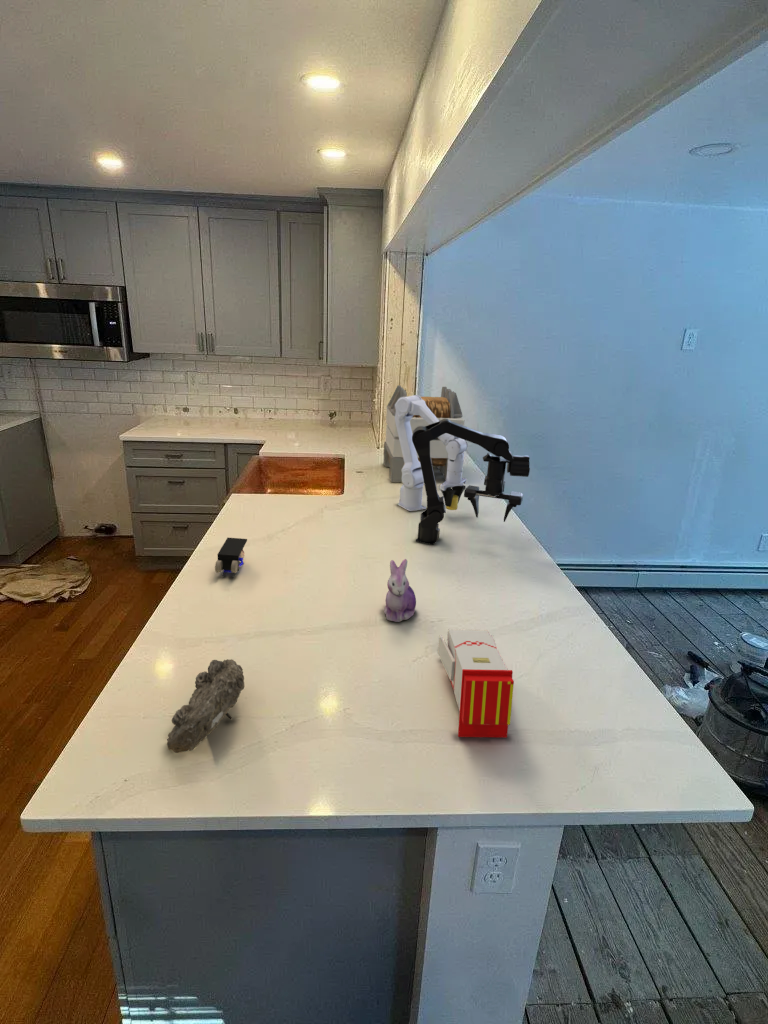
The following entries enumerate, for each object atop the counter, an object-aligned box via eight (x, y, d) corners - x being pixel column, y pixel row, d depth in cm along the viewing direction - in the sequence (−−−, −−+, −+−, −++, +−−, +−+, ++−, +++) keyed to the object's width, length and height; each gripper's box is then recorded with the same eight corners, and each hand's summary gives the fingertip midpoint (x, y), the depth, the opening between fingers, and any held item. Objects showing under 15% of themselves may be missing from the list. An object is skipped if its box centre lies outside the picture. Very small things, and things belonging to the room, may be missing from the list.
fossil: (192, 660, 117) (244, 628, 112) (224, 691, 120) (276, 661, 115) (142, 746, 98) (202, 712, 93) (182, 779, 101) (242, 748, 96)
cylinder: (453, 505, 219) (454, 493, 217) (459, 509, 215) (460, 497, 213) (443, 507, 217) (444, 495, 215) (449, 510, 213) (450, 498, 211)
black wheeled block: (238, 584, 162) (249, 557, 175) (236, 562, 158) (247, 536, 172) (215, 584, 161) (227, 556, 175) (212, 561, 158) (225, 535, 171)
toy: (488, 613, 130) (523, 677, 101) (484, 667, 133) (517, 744, 104) (435, 612, 130) (455, 676, 101) (432, 666, 133) (451, 743, 103)
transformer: (382, 463, 289) (386, 382, 275) (445, 464, 293) (451, 384, 279) (390, 482, 257) (394, 392, 243) (460, 483, 261) (468, 394, 247)
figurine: (392, 627, 141) (395, 572, 136) (374, 608, 149) (376, 556, 144) (425, 619, 145) (429, 566, 140) (405, 601, 154) (408, 550, 149)
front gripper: (527, 472, 190) (521, 516, 195) (472, 465, 196) (468, 507, 201) (523, 481, 180) (517, 526, 185) (465, 473, 186) (461, 517, 191)
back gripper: (452, 476, 203) (448, 511, 208) (474, 469, 213) (471, 503, 218) (436, 471, 208) (433, 506, 212) (459, 465, 218) (456, 498, 222)
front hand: (490, 519), depth 191 cm, fingers open, 9 cm apart
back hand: (451, 504), depth 215 cm, fingers closed on cylinder, 4 cm apart
